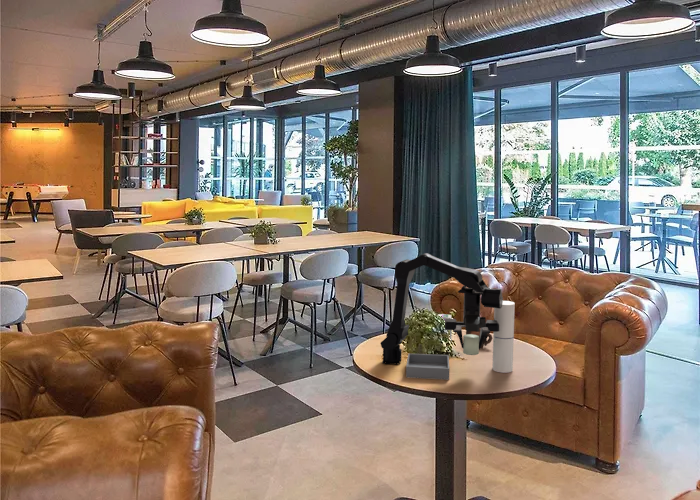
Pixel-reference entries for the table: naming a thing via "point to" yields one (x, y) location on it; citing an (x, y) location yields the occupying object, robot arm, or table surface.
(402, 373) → the table surface
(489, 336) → the pottery mug
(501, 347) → the cylindrical container
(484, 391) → the table surface
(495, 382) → the table surface
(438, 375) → the bin
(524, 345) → the table surface
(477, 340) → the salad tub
